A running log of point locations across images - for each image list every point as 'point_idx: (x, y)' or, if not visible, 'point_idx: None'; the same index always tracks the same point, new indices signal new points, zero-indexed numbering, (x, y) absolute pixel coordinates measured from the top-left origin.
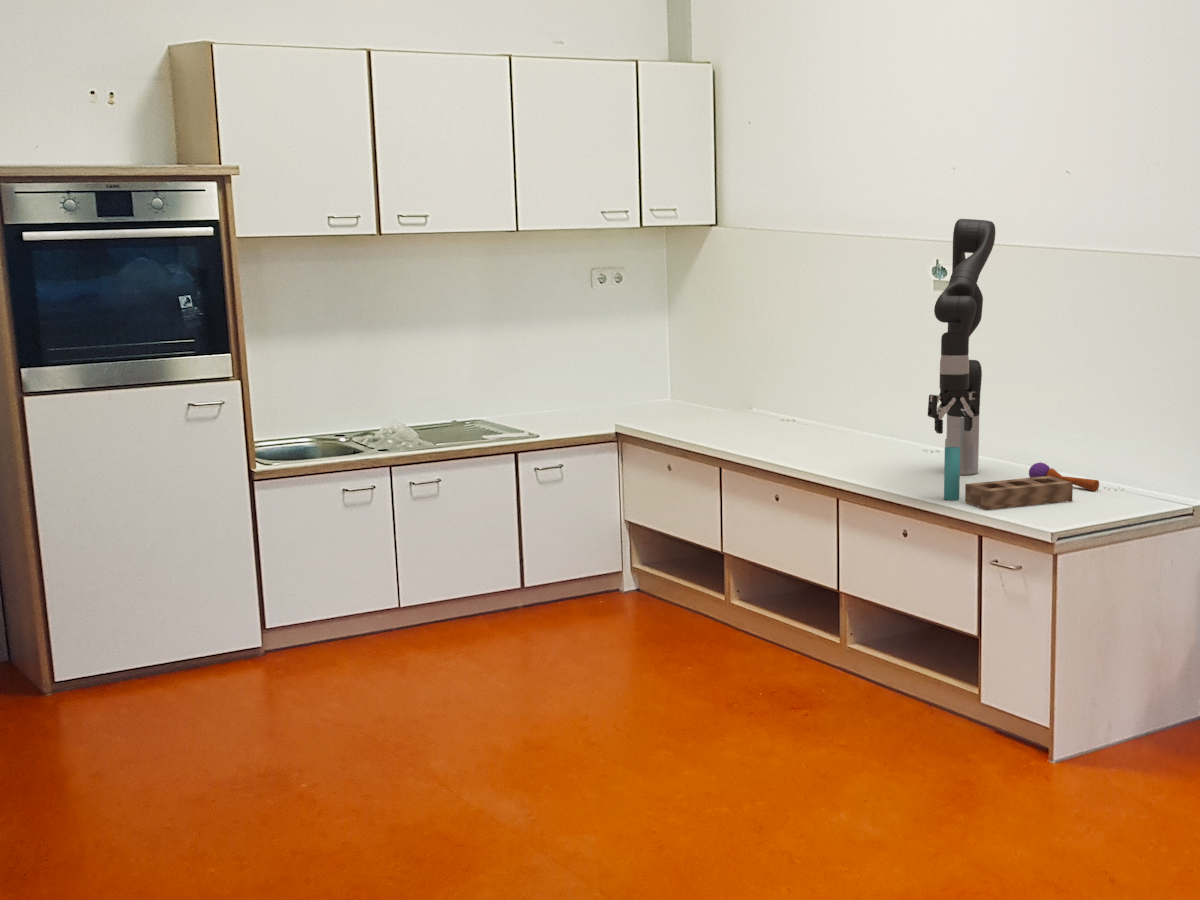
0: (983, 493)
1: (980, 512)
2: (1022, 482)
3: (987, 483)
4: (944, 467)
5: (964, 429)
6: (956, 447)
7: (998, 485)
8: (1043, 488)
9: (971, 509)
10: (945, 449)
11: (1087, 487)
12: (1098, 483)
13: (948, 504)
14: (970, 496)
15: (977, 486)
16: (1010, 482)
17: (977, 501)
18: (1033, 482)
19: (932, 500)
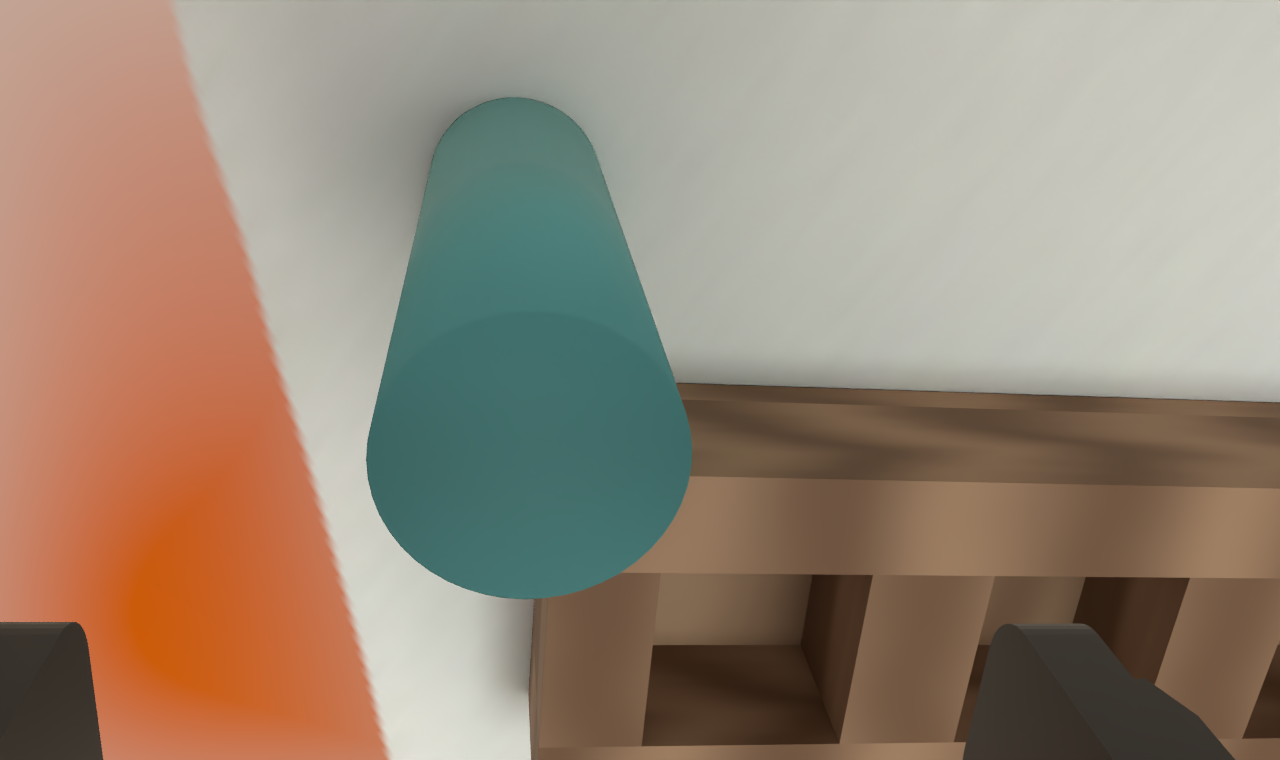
0: (536, 752)
1: (433, 734)
2: (1178, 582)
3: (795, 547)
4: (411, 261)
5: (1007, 640)
6: (636, 458)
7: (858, 618)
8: None
9: (428, 624)
10: (369, 434)
11: None
12: None
13: (341, 376)
14: None
15: (595, 625)
16: (1054, 574)
17: (538, 601)
18: (1210, 680)
19: (280, 136)
